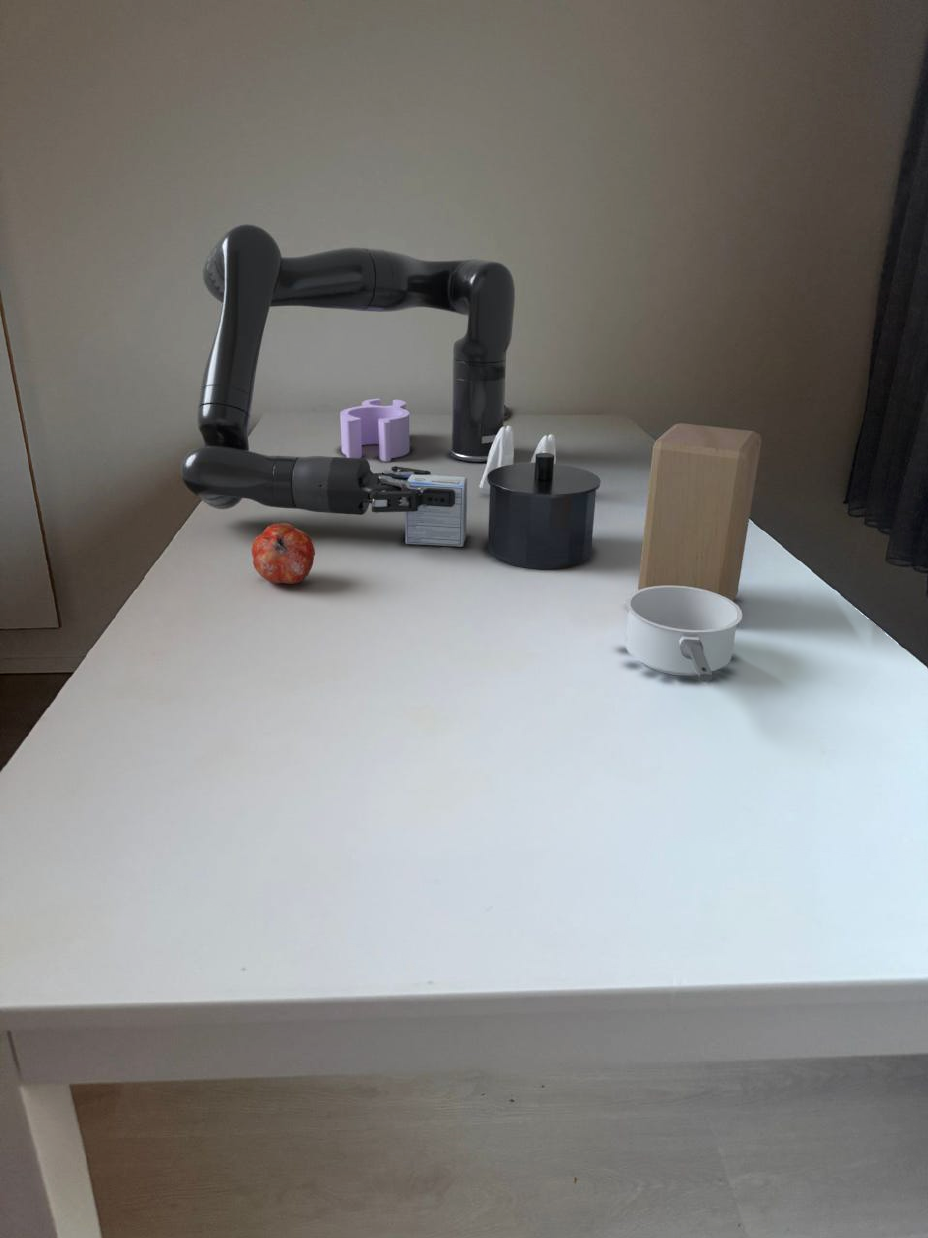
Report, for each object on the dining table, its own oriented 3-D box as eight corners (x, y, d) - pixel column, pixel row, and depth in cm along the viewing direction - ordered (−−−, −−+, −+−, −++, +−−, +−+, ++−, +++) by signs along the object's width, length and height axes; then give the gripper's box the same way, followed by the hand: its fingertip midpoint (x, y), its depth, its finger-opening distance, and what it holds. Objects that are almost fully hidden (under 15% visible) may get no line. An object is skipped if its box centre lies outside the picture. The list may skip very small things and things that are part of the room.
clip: (356, 433, 179) (355, 397, 176) (419, 435, 178) (419, 400, 175) (333, 459, 161) (331, 420, 158) (402, 462, 160) (402, 423, 157)
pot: (493, 530, 128) (496, 464, 124) (590, 536, 126) (596, 470, 122) (483, 565, 116) (485, 493, 112) (590, 572, 114) (596, 500, 110)
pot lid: (492, 468, 125) (493, 438, 123) (599, 473, 123) (602, 444, 121) (480, 499, 111) (481, 466, 110) (600, 506, 110) (602, 473, 108)
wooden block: (737, 597, 108) (764, 430, 99) (722, 629, 99) (749, 450, 91) (654, 582, 111) (673, 420, 103) (633, 612, 103) (651, 438, 95)
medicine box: (466, 537, 125) (468, 476, 121) (463, 548, 121) (464, 485, 117) (410, 533, 126) (410, 473, 122) (404, 544, 122) (404, 482, 118)
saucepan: (633, 725, 81) (639, 670, 78) (616, 629, 99) (621, 582, 97) (763, 733, 80) (774, 678, 78) (723, 635, 98) (730, 587, 96)
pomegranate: (258, 587, 113) (231, 565, 103) (274, 533, 115) (249, 506, 105) (315, 599, 112) (293, 578, 102) (330, 544, 114) (310, 518, 104)
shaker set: (479, 499, 141) (481, 429, 136) (477, 491, 145) (479, 422, 140) (555, 500, 142) (560, 429, 137) (552, 492, 145) (556, 423, 141)
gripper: (316, 471, 114) (450, 480, 112) (344, 444, 127) (465, 451, 125) (318, 528, 117) (449, 537, 115) (346, 496, 130) (464, 503, 128)
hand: (456, 492), depth 120 cm, fingers closed on medicine box, 4 cm apart
